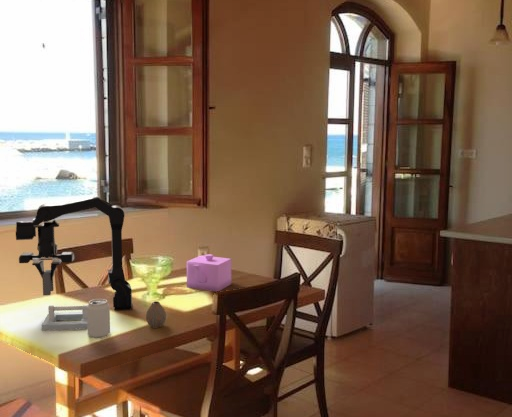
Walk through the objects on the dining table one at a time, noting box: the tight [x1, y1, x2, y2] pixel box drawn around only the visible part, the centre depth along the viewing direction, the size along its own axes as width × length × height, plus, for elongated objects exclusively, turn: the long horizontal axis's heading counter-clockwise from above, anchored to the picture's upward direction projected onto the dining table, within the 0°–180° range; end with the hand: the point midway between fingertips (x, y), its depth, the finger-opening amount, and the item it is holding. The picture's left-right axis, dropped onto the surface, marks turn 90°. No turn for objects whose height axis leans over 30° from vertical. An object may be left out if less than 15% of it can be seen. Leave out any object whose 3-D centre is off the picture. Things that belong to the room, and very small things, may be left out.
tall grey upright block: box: [41, 269, 54, 296], centre depth 224 cm, size 2×7×8 cm, turn 8°
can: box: [86, 298, 111, 339], centre depth 204 cm, size 8×8×12 cm
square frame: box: [41, 304, 88, 332], centre depth 215 cm, size 16×13×6 cm
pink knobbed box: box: [186, 253, 232, 292], centre depth 264 cm, size 15×25×14 cm, turn 156°
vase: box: [145, 301, 167, 329], centre depth 214 cm, size 7×7×9 cm
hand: (47, 280), depth 224 cm, fingers closed on tall grey upright block, 2 cm apart
